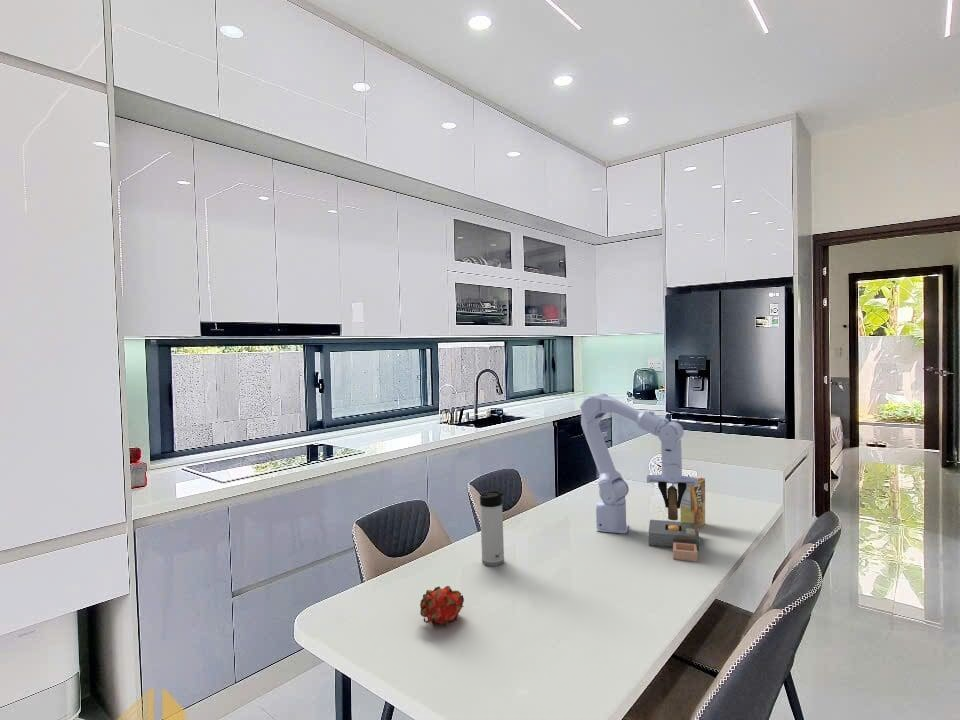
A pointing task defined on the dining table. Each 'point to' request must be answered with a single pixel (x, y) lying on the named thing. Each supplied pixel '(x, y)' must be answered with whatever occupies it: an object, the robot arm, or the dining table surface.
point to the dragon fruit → (441, 605)
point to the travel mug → (492, 528)
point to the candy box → (694, 503)
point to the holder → (684, 551)
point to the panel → (672, 533)
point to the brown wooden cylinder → (672, 503)
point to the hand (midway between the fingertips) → (672, 507)
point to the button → (673, 527)
